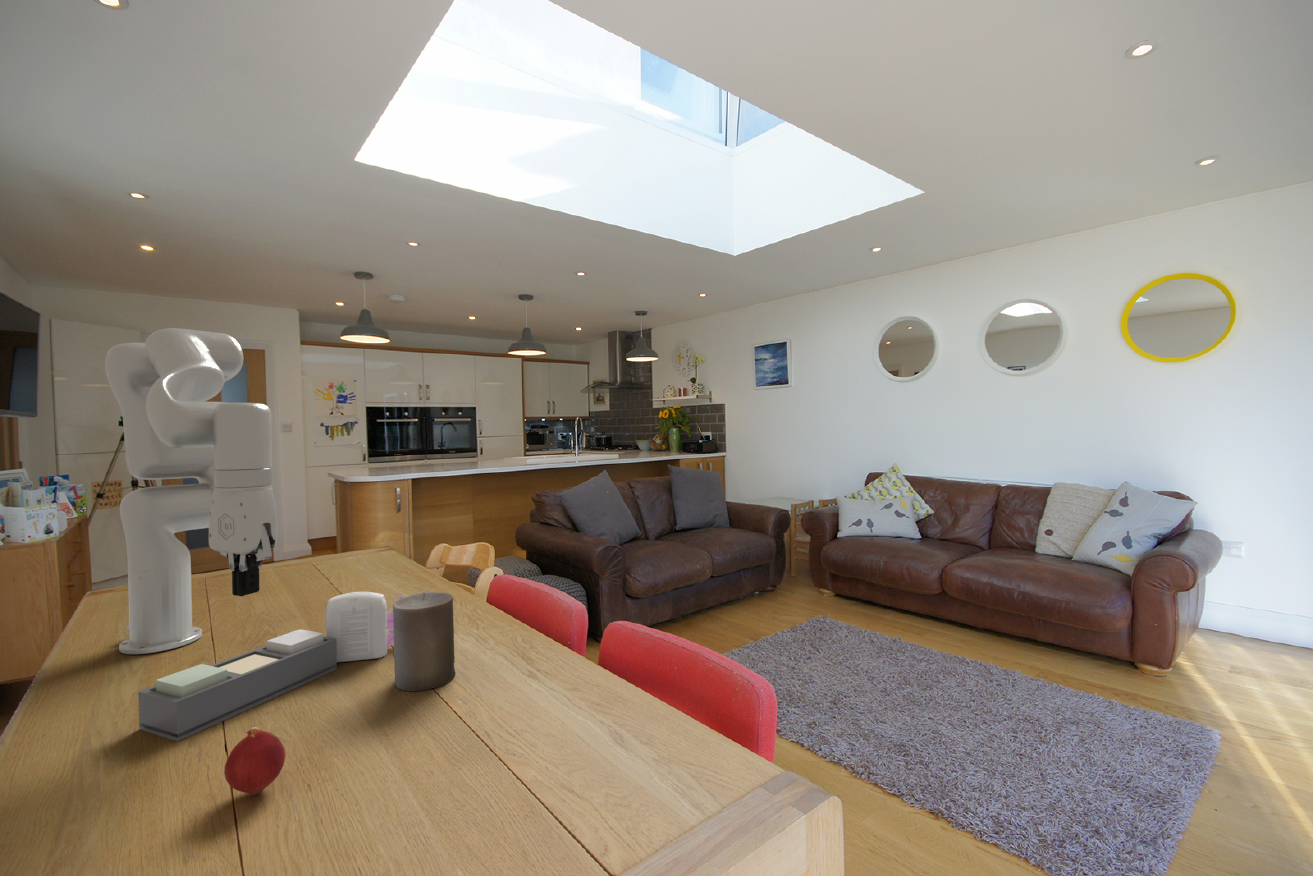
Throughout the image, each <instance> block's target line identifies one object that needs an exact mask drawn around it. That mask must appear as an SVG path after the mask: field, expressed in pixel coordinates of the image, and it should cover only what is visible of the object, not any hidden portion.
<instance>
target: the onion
mask: <svg viewBox="0 0 1313 876" xmlns="http://www.w3.org/2000/svg"><path fill="white" fill-rule="evenodd" d="M246 733H247V736H244V737H243V738H242V739H241V740H240V741H239V742H238V743H237V744H236V745H235V746H234V747H233V748H232V749H231V751H230V753H229V756H228V757H227V759H226V761H225V764H224V771H223V774H224V777H225V781H226V782H227V784H228V785H229V786H230V787H231V789H233V790H236V791H238V792H241V793H244V794H248V795H250V796H257V795H259V794H261V793H262V792H263V791H264V790H265V789H267V787H269V785H271V784H272V783H273V782H274V781H275V780H276V779H277V777H278V776H279V775H280V773H281V771H282V769H283V767H284V764H285V760H286V751H285V750H286V749H285V747H284V744H283V743H282V741H281V739H280V738H279V737H277V736H276V735H275V734H273V733H271V732H269V731H264V730H262V729H260V728H259V727H258V726H257V727H256V726H255V727H251V728H250V729H249V730H248V731H246Z"/></svg>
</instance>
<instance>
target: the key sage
mask: <svg viewBox="0 0 1313 876" xmlns="http://www.w3.org/2000/svg"><path fill="white" fill-rule="evenodd" d="M225 680H227V670H226V669H222V668H218V667H213V666H211V665H208V664H205V663H200V664H197V665H195V666H191V667H189V668H186V669H184V670H179V671H178V672H174V673H172V674H171V673H170V674H169V675H166V676H164V677H160V678H157V679H155V685H156V692H157V693H161V694H165V695H168V696H172V697H176V698H182V697H185V696H187V695H190V694H192V693H195V692H197V691H200V690H203V689H205V688H208V687H210V686H213V685H215V684H218V683H220V682H223V681H225Z"/></svg>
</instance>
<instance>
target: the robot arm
mask: <svg viewBox="0 0 1313 876" xmlns="http://www.w3.org/2000/svg"><path fill="white" fill-rule="evenodd" d="M104 363H105V366H104V368H105V375H106V378H107V381H108V385H109V387H110V389H111V391H112V393H113V396H114V397H115V399H116V401H117V403H118V405H119V408H120V411H121V414H122V415H121V416H122V424H123V437H124V449H125V450H124V451H125V459H126V465H127V470H128V472H129V474H130V475H131V476H132V477H133V478H136V479H137V480H138V479H139V480H145V481H146V480H149V481H150V480H151V481H152V480H156V481H157V480H172V479H189V478H190V479H191V478H194V479H196V480H197V482H198V483H191V484H190V483H189V484H170V485H158V486H157V485H156V486H147V487H142V488H138V489H135V490H133V491H131V492H128V493H127V494H126V495H124V497H122V499H121V501H120V502H119V503H120V505H119V515H120V520H121V523H122V528H123V532H124V536H125V544H126V554H127V555H126V556H127V557H126V558H127V559H126V560H127V580H128V581H127V582H128V583H127V585H128V586H127V587H128V590H127V591H128V623H127V624H126V629H127V630H129V631H128V632H129V637H128V638H126V639H124V640H123V641H122V642H120V643H119V645H118V650H119V652H120V653H122V654H125V655H146V654H153V653H158V652H159V653H160V652H163V651H169V650H173V649H176V648H179V647H183V646H186V645H189V644H191V643H193V642H195V641H197V640H198V639H200V638H201V637H202V635H203V630H202V628H201V627H198V626H193V602H192V568H191V567H192V564H191V563H192V562H191V552H190V550H189V548H188V546H187V545H185V544H184V543H183V542H182V541H181V540H179V539H178V538H177V537H176V536H175V535H174V534H175V533H180V532H184V531H185V532H186V531H192V530H200V529H201V530H202V529H208V546H209V548H210V549H211V550H213V551H215V552H219V554H220V555H222V556H223V557H225V558H227V560H228V567H229V569H230V571H231V585H232V587H231V590H232V591H231V592H232V596H234V597H235V596H236V597H245V596H248V595H251V594H256V593H258V592H259V591H260V568H262V564H263V561H265V560H269V559H271V558H272V557H273V553H272V549H274V548H275V547H276V545H277V541H278V518H277V507H276V501H275V496H274V490H273V484H274V483H273V448H272V447H273V442H272V440H273V439H272V438H273V437H272V436H273V434H272V432H273V431H272V429H273V428H272V425H273V424H272V410H271V409H270V407H269V406H268V405H267V404H264V403H260V402H259V403H258V402H227V401H226V402H224V401H223V402H222V401H209V400H211V399H213V398H214V397H216V396H217V395H218V394H219V393H220V392H221V391H222V389H223V388H224V385H225V382H227V381H229V380H231V379H232V378H234V377H235V376H237V375H238V374H239V373H240V372H241V370H242V367H243V364H244V353H243V348H242V346H241V344H240V343H239V342H238V341H237V340H236V339H235V338H234V337H233V336H231V335H230V334H227V333H223V332H214V331H206V330H198V329H197V330H196V329H188V328H180V327H178V328H177V327H176V328H175V327H170V328H169V327H167V328H162V329H158V330H155V331H154V332H152V333H151V334H150V335H148V337H147V338H146V340H145V342H127V343H119V344H116V345H113V346H112V347H110V349H109V350H108V351H107V353H106V355H105V362H104Z"/></svg>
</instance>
